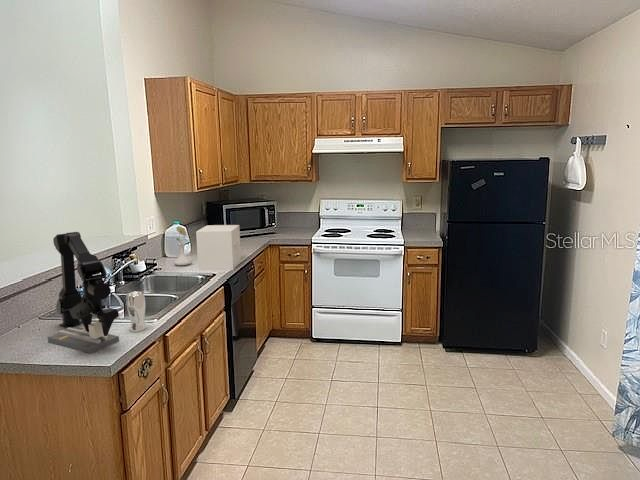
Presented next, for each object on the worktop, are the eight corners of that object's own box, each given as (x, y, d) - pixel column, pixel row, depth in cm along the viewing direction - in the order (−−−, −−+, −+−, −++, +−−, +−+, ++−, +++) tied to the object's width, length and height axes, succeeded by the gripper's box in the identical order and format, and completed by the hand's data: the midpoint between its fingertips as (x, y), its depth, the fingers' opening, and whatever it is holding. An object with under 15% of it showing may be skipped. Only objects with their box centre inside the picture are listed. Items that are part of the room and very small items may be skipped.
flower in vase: (194, 265, 292) (192, 226, 287) (177, 267, 286) (174, 228, 281) (188, 261, 303) (185, 224, 298) (170, 263, 296) (168, 225, 292)
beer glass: (149, 325, 189) (146, 290, 186) (144, 332, 182) (140, 296, 179) (132, 326, 189) (129, 291, 186) (126, 332, 182) (123, 296, 179)
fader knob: (90, 340, 168) (88, 324, 167) (99, 336, 172) (97, 321, 171) (95, 341, 167) (93, 326, 166) (105, 337, 170) (103, 322, 169)
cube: (233, 270, 279) (231, 231, 274) (198, 271, 279) (196, 231, 275) (241, 261, 303) (239, 224, 299) (209, 261, 304) (206, 225, 299)
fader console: (48, 342, 173) (47, 334, 173) (77, 331, 184) (76, 323, 183) (91, 353, 163) (90, 345, 162) (119, 341, 173) (118, 333, 173)
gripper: (55, 296, 163) (60, 337, 166) (90, 303, 155) (95, 346, 158) (83, 288, 173) (87, 327, 176) (117, 294, 165) (121, 334, 168)
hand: (97, 333), depth 169 cm, fingers open, 9 cm apart
